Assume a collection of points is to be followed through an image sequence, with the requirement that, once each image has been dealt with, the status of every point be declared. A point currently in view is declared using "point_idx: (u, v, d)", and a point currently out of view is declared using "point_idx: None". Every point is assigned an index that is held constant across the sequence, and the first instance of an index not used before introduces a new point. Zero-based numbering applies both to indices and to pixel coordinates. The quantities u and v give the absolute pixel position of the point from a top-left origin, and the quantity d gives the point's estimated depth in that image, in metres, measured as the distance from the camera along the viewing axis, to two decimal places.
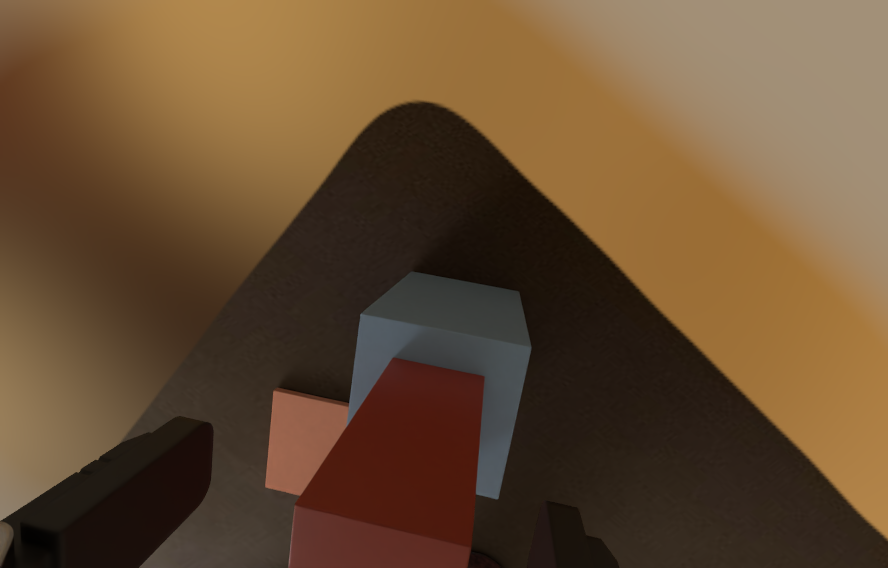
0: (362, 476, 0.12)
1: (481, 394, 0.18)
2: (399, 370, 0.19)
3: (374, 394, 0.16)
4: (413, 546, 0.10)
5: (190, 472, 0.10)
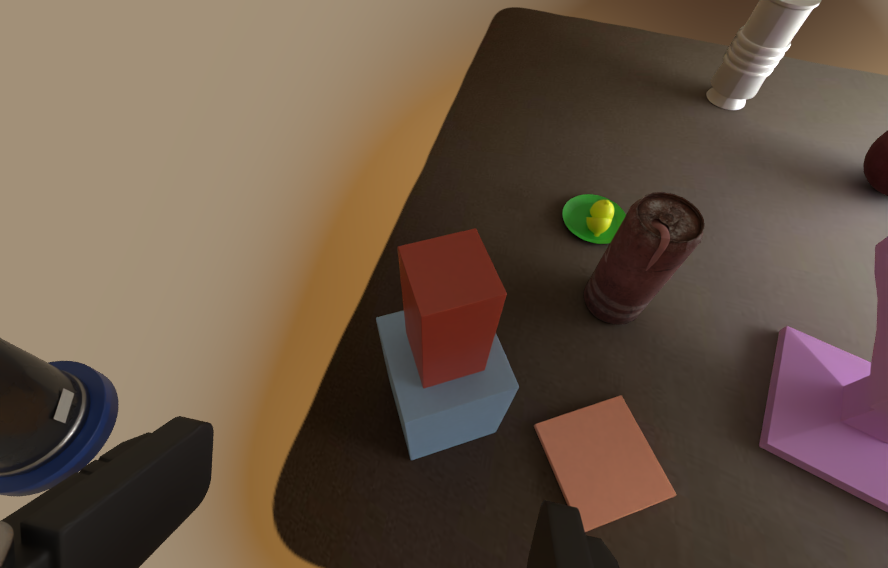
0: (414, 310, 0.22)
1: (405, 320, 0.29)
2: (420, 372, 0.28)
3: (421, 363, 0.25)
4: (411, 264, 0.22)
5: (190, 472, 0.10)
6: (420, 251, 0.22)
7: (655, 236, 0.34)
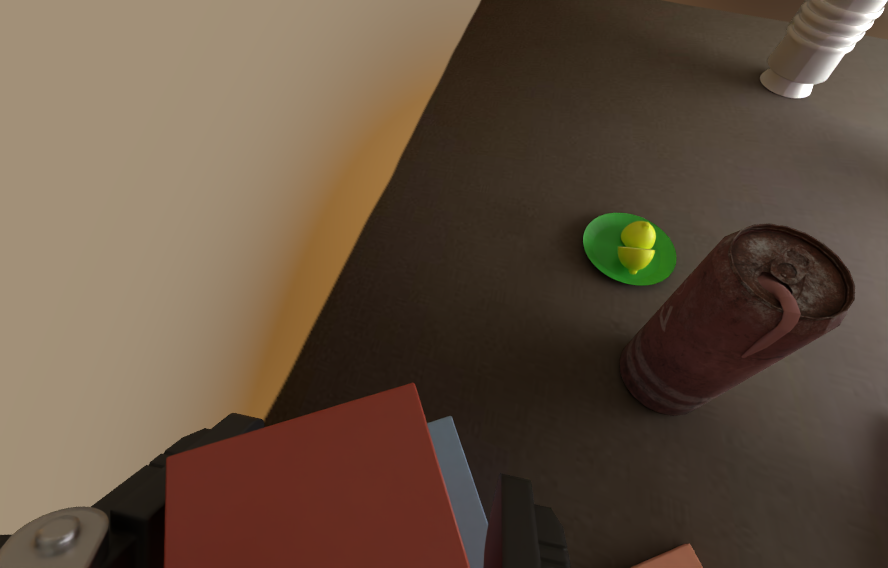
0: None
1: None
2: None
3: None
4: (188, 536, 0.07)
5: None
6: (232, 475, 0.07)
7: (771, 307, 0.19)
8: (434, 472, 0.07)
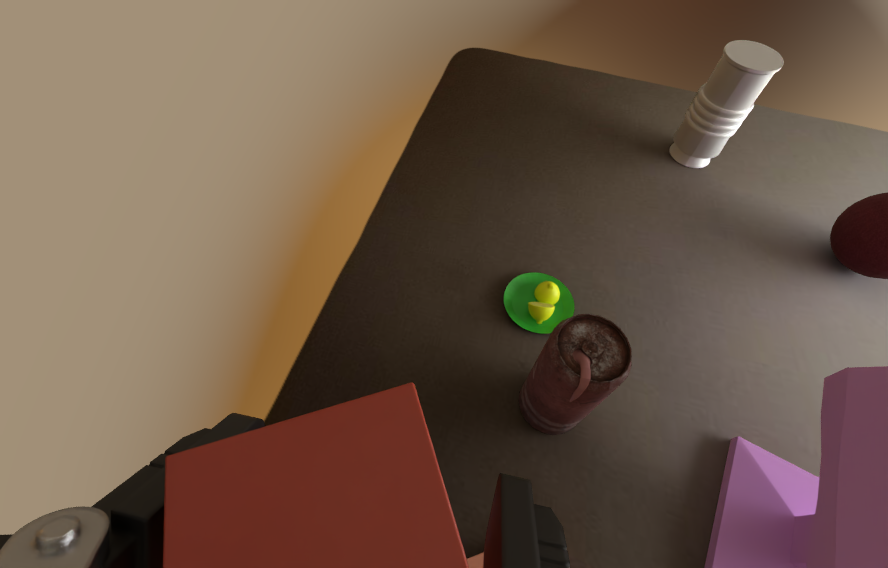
0: None
1: None
2: None
3: None
4: (188, 534, 0.07)
5: None
6: (230, 474, 0.07)
7: (574, 374, 0.30)
8: (433, 472, 0.07)
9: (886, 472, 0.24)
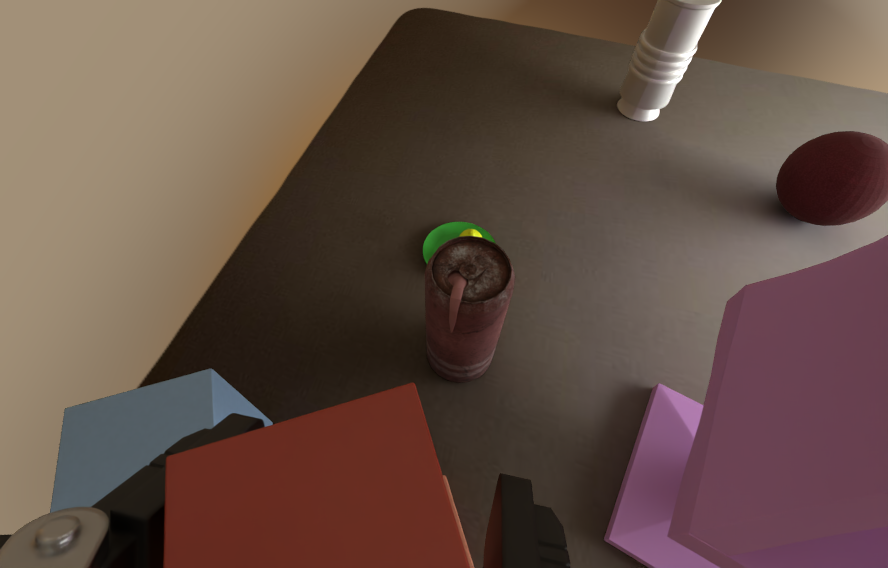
0: None
1: None
2: None
3: None
4: (187, 535, 0.07)
5: None
6: (231, 475, 0.07)
7: (445, 295, 0.27)
8: (434, 472, 0.07)
9: (761, 381, 0.21)
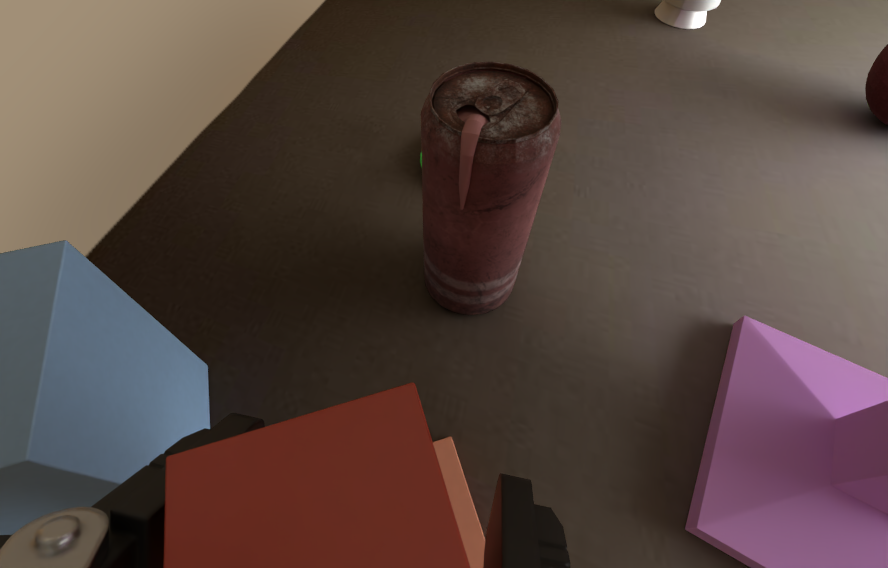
0: None
1: None
2: None
3: None
4: (188, 535, 0.07)
5: None
6: (231, 475, 0.07)
7: (453, 131, 0.17)
8: (434, 472, 0.07)
9: None
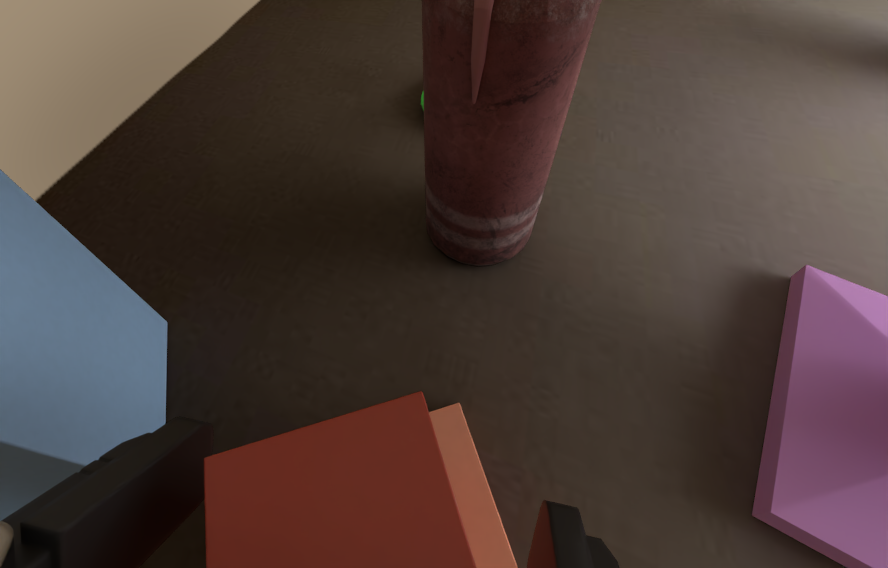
0: None
1: None
2: None
3: None
4: (226, 526, 0.08)
5: (190, 472, 0.10)
6: (262, 474, 0.08)
7: None
8: (440, 471, 0.08)
9: None
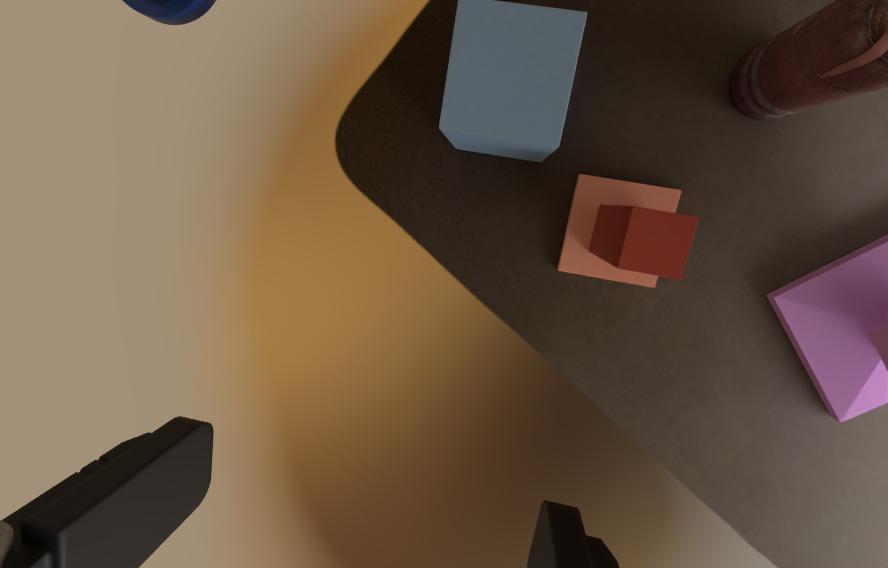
0: (615, 248, 0.31)
1: (604, 205, 0.37)
2: (592, 246, 0.39)
3: (598, 254, 0.36)
4: (633, 226, 0.30)
5: (190, 472, 0.10)
6: (646, 218, 0.29)
7: (868, 39, 0.23)
8: (690, 240, 0.29)
9: None
